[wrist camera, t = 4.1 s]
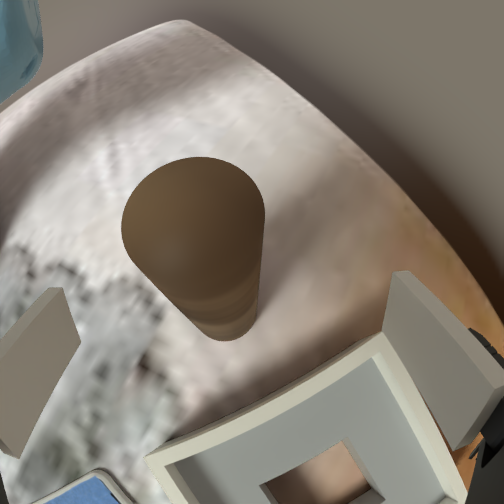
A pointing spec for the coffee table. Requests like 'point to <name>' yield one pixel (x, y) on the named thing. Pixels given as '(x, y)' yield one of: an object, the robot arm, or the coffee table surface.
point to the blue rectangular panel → (88, 491)
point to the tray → (319, 437)
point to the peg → (200, 241)
